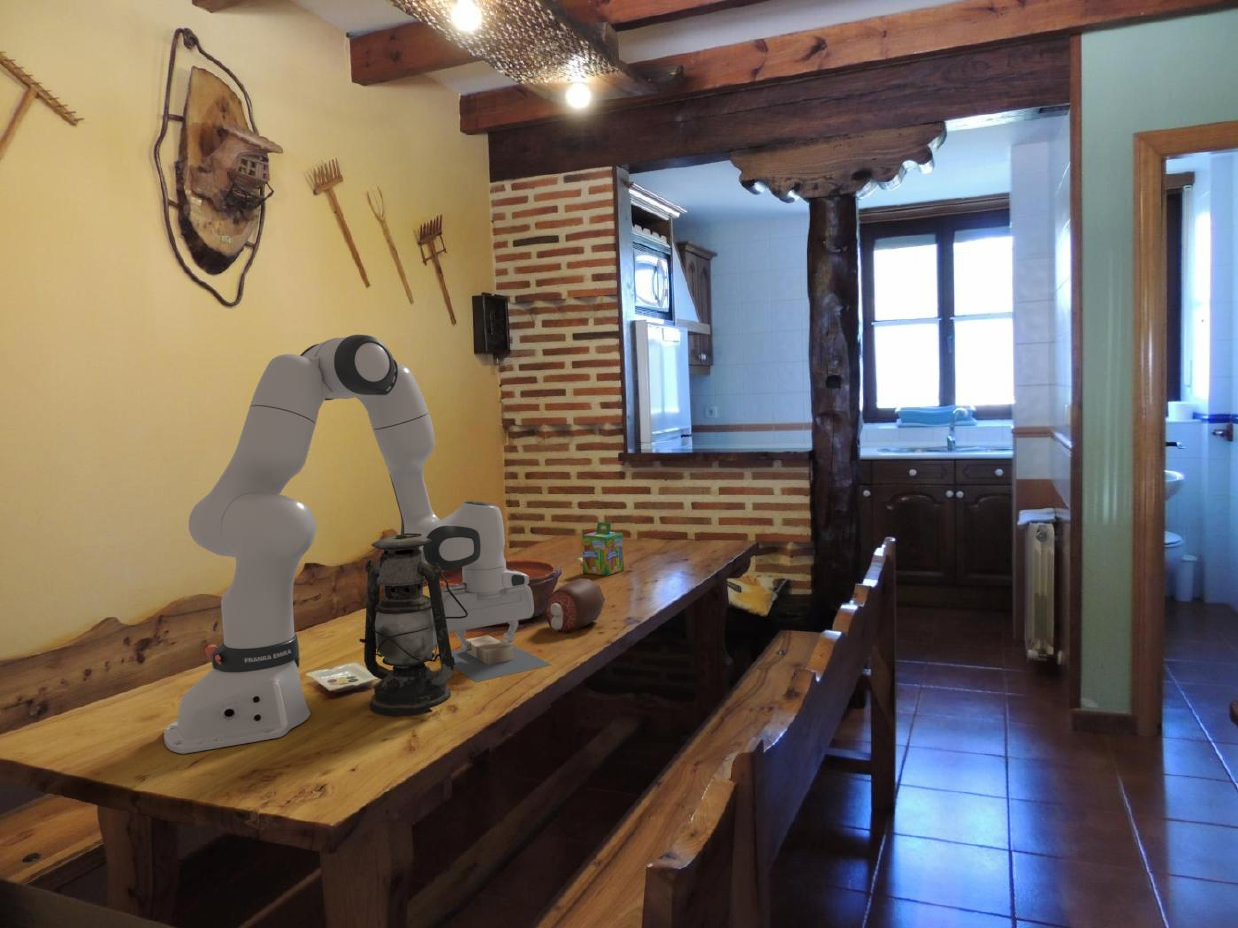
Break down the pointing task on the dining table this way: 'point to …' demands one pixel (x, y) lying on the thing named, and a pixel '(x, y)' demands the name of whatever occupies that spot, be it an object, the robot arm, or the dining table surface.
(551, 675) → the dining table surface
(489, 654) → the wooden block
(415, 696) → the lantern
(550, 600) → the meat
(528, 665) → the mat
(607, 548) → the chalk box
